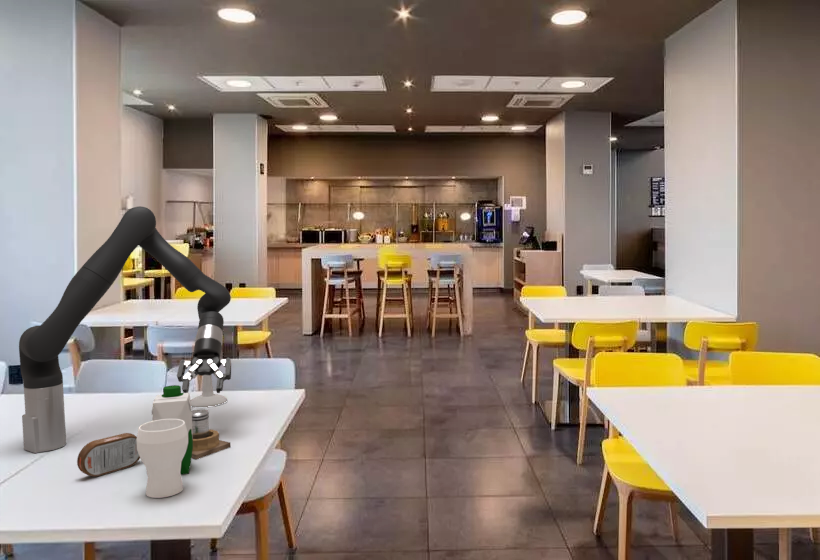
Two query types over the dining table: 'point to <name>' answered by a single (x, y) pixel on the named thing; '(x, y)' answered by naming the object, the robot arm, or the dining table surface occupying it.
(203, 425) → the salt shaker
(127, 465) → the tin
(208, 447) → the ring board
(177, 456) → the cup
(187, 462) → the milk carton
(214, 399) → the candlestick
